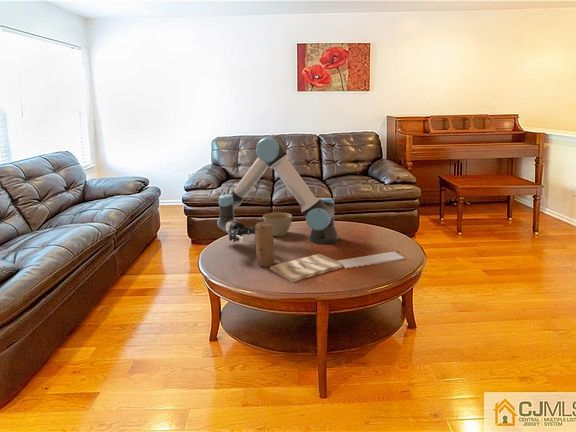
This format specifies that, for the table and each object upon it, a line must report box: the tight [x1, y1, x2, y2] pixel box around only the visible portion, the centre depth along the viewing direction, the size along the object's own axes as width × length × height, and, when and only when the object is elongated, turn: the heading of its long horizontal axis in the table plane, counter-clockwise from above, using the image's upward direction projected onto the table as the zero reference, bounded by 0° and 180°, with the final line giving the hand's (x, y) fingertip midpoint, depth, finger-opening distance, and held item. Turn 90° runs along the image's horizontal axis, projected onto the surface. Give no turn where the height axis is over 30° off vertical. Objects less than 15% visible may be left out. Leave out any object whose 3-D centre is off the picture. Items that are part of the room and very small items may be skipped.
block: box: [254, 221, 275, 268], centre depth 216 cm, size 11×8×20 cm
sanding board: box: [269, 253, 343, 283], centre depth 211 cm, size 28×18×2 cm, turn 123°
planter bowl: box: [262, 212, 293, 237], centre depth 262 cm, size 16×16×11 cm
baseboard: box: [336, 249, 405, 270], centre depth 219 cm, size 31×3×12 cm
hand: (255, 238), depth 222 cm, fingers open, 13 cm apart
